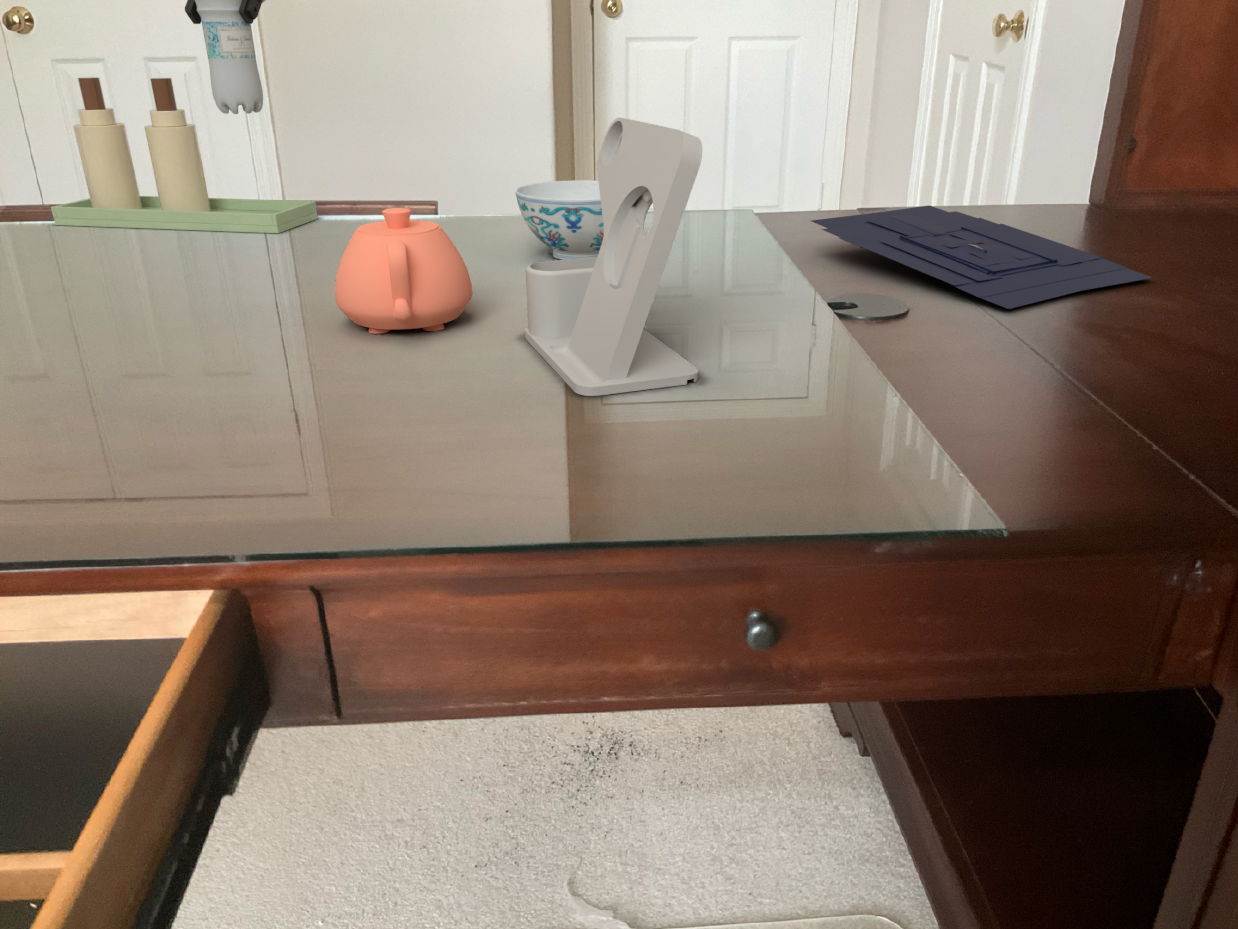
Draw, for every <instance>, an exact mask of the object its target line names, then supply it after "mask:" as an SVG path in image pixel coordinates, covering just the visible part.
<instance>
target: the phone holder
mask: <svg viewBox="0 0 1238 929" xmlns="http://www.w3.org/2000/svg"><path fill="white" fill-rule="evenodd" d="M702 158H703V144H702V141H701V139H700V138H699V137H698V136H695V135H694V134H693V135H692V134H690V133H687V132H685V131H682V130H680V129H676V128H672V127H668V126H663V125H658V124H653V123H650V122H644V121H639V120H634V119H629V118H625V117H619V116H618V117H616V118H614V119H613V120H612V122H611V123H610V124H609V126H608V128H607V130H606V132H605V135H604V137H603V139H602V143H601V146H600V149H599V152H598V155H597V161H596V174H597V181H598V182H599V191H600V199H601V207H602V216H603V224H604V237H603V241H602V244H601V248H600V251H599V254H598V257H593V258H580V259H567V260H561V259H556V260H554V259H553V260H544V261H537V262H533V263H531V264H529V265H527V266H526V268H525V283H526V284H525V285H526V286H525V287H526V305H527V327H525V328H524V338H525V340H526V341H527V342H528V344H530V345H531V347H533V349H534V350H535V351H536V352H537V353H538V354H539V356H541V357H542V358H543V359H544V361H545V362H546V363H547V364H548V365H549V366H550V368H552V369H553V371H555V373H556V374H557V375H558V376H559V377H560V378H561V379H562V380H563V382H565V383H566V385H567V386H568V387H569V388H570V389H571V390H572V391H573V392H574V393H575V394H577V395H581V396H586V397H599V396H608V395H614V394H622V393H631V392H638V391H645V390H646V391H647V390H654V389H661V388H670V387H676V386H677V387H679V386H685V385H688V381H689V380H690V381H692V382H693V383H696V382H698V379H699V368H698V367H696V366H695V365H694V364H692V363H691V362H689V361H688V360H686V358H684V357H682V355H680V354H679V353H677V351H674V349H672V348H671V347H669V346H668V345H666V344H665V343H663V342H662V341H661V340H660V339H658V338H657V337H655V336H654V335H653V334H651V333H650V332H649V331H647V330H646V329H645V326H646V323H647V319H648V316H649V314H650V310H651V308H652V305H653V302H654V299H655V297H656V295H657V294H656V293H657V291H658V288H659V285H660V282H661V280H662V276H663V274H664V270H665V268H666V265H667V263H668V259H669V256H670V253H671V250H672V248H673V245H674V242H675V239H676V236H677V233H678V230H679V228H680V225H681V221H682V219H683V217H684V213H685V211H686V208H687V204H688V201H689V199H690V196H691V193H692V190H693V187H694V184H695V182H696V179H697V176H698V174H699V171H700V167H701V163H702ZM651 206H652V208H653V210H652V222H651V226H650V228H649V230H648V231H647V232H646V234H645V221H646V218H647V214H648V212H649V210H650V208H651Z"/></svg>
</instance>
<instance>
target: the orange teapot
mask: <svg viewBox="0 0 1238 929" xmlns="http://www.w3.org/2000/svg"><path fill="white" fill-rule="evenodd" d="M381 212H382V216H383V218H384V220H381V221H373V222H368V223H365V224H362V225H359V226H358V227H357V228H356V229H355V230H354V232H353V233H352V236H351V237H350V239H349V241H348V244H347V245H346V247H345V250H344V252H343V254H342V255H341V259H340V261H339V264H338V266H337V271H336V276H335V285H334V297H335V298H334V299H335V303H336V305H337V308H338V309H339V310H340V311H341V312H342V313H343V315H345V316H346V317H347V318H348V319H350V320H351V321H352V323H354V324H356V325H358V326H362V327H364V328H369V329H368V333H370V334H377V335H378V334H380V335H381V334H386V333H389V332H391V331H392V330H412V329H421V328H422V330H424V331H427V332H437V331H441V330H444V329H445V325H444V324H446V323H449V322H452V321H454V320H455V319H457V318H458V317H459V316H461V315H462V313H463V312H464V311H465V309H466V308H467V306H468V305H469V303H470V302H471V301H472V297H473V285H472V284H473V283H472V280H471V276H470V274H469V270H468V268H467V266H466V263H465V261H464V259H463V257H462V255H461V253H460V251H459V250H458V249H457V247H456V246H455V244H454V243H453V241H452V240H451V238H450V237H449V236H448V234H447V233H446V232H445V230H443V227H441V226H440V224H438V223H436V222H434V221H429V220H422V219H410V218H411V214H412V210H411V209H410V208H407V207H389V208H386V209H383V210H381Z"/></svg>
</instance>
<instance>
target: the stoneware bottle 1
mask: <svg viewBox="0 0 1238 929" xmlns="http://www.w3.org/2000/svg"><path fill="white" fill-rule="evenodd" d="M77 81H78V85H79V89H80V94H81V98H82V103H83V107H84V108H78V109H77V114H78V119H79V123H77V124H73V125H72V128H73V131H74V136H75V140H76V144H77V148H78V153H79V158H80V161H81V166H82V170H83V175H84V178H85V179H84V180H85V182H86V188H87V191H88V195H89V198H90V200H91V205H92V208H116V209H143V208H142V204H141V199H140V196H141V194H140V190H139V185H138V181H137V176H136V171H135V166H134V161H133V157H132V153H131V148H130V144H129V143H130V142H129V139H128V133H127V129H126V124H125V123H124V122H117V120H116V115H115V114H116V113H115V110H114V108H112V107H107V106H106V102H105V98H104V93H103V89H102V83H101V79H100V77H97V76H96V77H92V76H91V77H90V76H89V77H87V76H86V77H78V78H77Z"/></svg>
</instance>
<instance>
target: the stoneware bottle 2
mask: <svg viewBox="0 0 1238 929" xmlns="http://www.w3.org/2000/svg"><path fill="white" fill-rule="evenodd" d="M150 85H151V89H152V96H153V100H154V104H155V109H150V110H149V111H148V112H149V116H150V121H151V124H149V125H145V126H144V133H145V138H146V141H147V142H146V143H147V147H148V152H149V157H150V161H151V166H152V171H153V176H154V182H155V186H156V191H157V196H159V201H160V206H161V210H176V211H205V212H211V209H210V203H209V198H210V197H209V193H208V187H207V182H206V176H205V171H204V165H203V160H202V154H201V148H200V144H199V138H198V133H197V128H196V124H194V123H188V120H187V116H186V111H185V110H186V109H183V108H178V107H177V100H176V96H175V90H174V85H173V79H172V78H171V77H151V78H150Z"/></svg>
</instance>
